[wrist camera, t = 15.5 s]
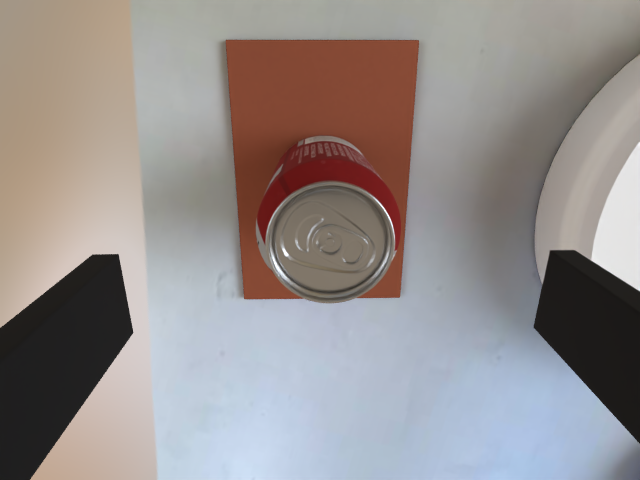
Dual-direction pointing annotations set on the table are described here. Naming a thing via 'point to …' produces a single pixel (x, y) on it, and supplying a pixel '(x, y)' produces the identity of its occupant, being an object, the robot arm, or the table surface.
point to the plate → (597, 183)
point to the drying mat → (318, 126)
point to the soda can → (327, 221)
